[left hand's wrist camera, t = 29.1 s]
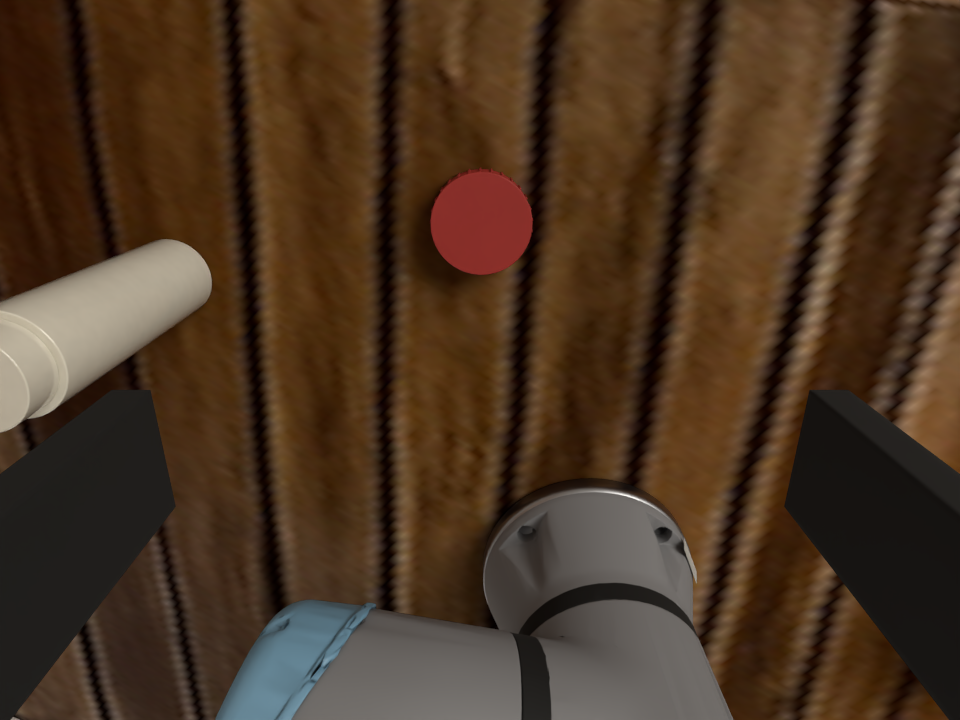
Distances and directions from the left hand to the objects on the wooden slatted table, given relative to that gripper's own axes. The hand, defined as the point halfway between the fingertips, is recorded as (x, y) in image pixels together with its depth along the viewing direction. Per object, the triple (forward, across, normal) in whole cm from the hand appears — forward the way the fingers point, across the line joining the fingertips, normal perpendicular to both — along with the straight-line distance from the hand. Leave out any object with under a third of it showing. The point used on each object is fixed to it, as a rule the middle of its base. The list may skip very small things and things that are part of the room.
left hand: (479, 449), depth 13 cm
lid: (+25, 0, 0) cm, 25 cm away
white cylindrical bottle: (+27, +19, +3) cm, 33 cm away
